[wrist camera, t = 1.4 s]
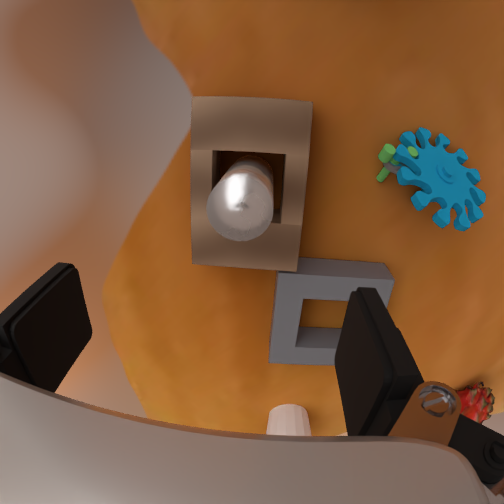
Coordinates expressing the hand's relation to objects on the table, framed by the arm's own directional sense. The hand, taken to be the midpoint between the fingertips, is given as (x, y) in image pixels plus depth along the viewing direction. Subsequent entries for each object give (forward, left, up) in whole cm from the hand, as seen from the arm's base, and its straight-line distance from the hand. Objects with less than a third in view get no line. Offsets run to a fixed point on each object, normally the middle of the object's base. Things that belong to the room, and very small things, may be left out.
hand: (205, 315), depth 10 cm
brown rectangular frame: (0, 0, -20) cm, 20 cm away
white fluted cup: (+33, +7, -20) cm, 39 cm away
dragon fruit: (+31, +36, -20) cm, 51 cm away
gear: (-3, +16, -20) cm, 26 cm away
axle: (0, 0, -20) cm, 20 cm away
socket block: (+13, +9, -20) cm, 25 cm away
